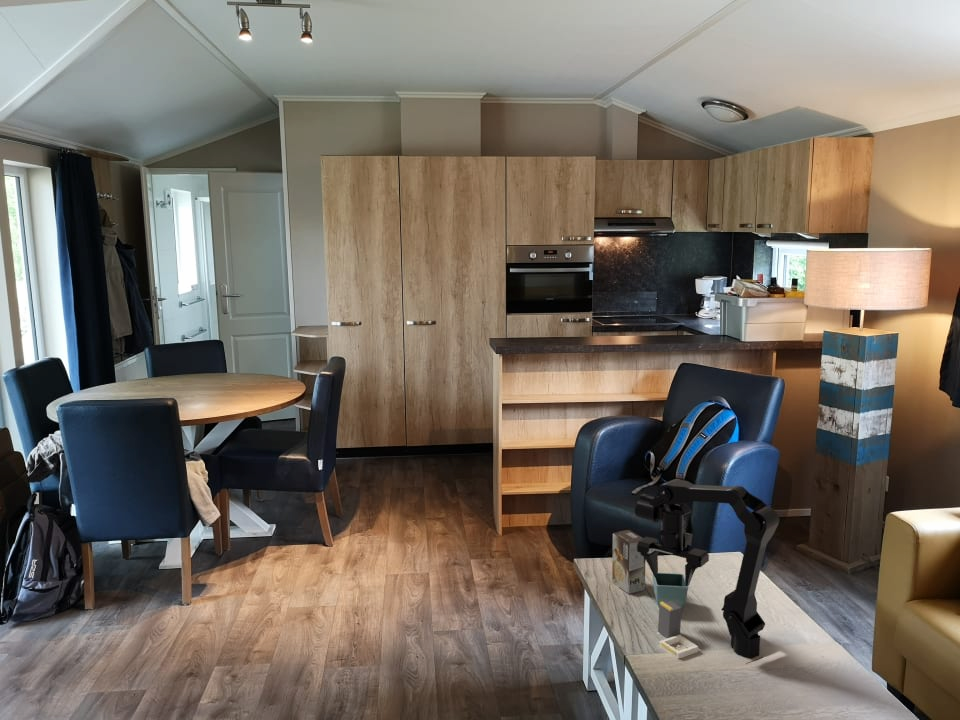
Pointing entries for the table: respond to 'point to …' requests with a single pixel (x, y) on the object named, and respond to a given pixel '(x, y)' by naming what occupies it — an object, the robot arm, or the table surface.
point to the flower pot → (670, 588)
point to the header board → (678, 653)
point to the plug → (669, 619)
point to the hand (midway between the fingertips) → (671, 581)
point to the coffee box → (627, 562)
